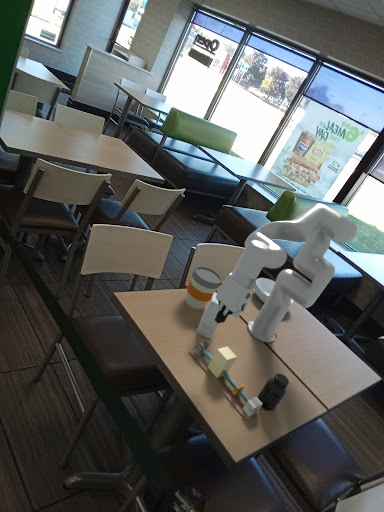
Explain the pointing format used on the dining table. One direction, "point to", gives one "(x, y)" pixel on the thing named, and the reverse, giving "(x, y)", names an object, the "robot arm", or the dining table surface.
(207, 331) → the skincare box
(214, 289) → the reusable coffee cup
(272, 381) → the supplement bottle
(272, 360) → the dining table surface
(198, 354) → the cable board
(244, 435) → the dining table surface
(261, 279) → the serving bowl
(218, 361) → the pale yellow block
